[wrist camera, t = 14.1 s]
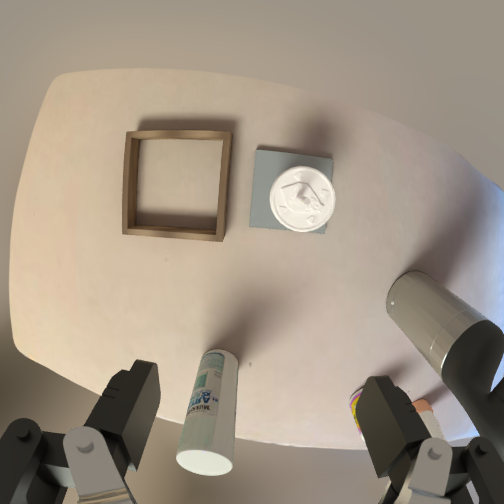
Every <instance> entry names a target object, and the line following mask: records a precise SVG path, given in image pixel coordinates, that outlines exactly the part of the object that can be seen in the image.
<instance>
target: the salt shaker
mask: <svg viewBox="0 0 504 504" xmlns="http://www.w3.org/2000/svg"><path fill="white" fill-rule="evenodd" d="M412 405H414V407H415V408H416V412H418V413H419V415H420V417H421V419H422V420H423V422H424V424H425V426H426V427H427V429H428V431H429V432H430V434H431V436H432V438H433V437H436V438H441V439H443V440H445V441H446V439H445V437H444V435H443V434H442V431H441V428H440V425H439V422H438V420H437V419H436V417H435V416H434V414H433V410H432V408H431V407H430V405H429V403H428V402H427V401H426V400H425V399H421V400H417V401H415V402H413V403H412ZM446 442H447V441H446ZM447 443H448V442H447ZM451 447H452V446H451Z"/></svg>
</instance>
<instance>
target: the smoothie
mask: <svg viewBox="0 0 504 504" xmlns="http://www.w3.org/2000/svg"><path fill="white" fill-rule="evenodd" d="M270 205H271V210H272V211H273V213H274V215H275V217H276V218H277V219H278V221H279V222H280V223H281V224H283V225H284V226H285V227H287V228H289V229H291V230H294V231H298V232H308V231H312V230H315V229H317V228H319V227H321V226H322V225H324V224H325V223H326V222H327V221H328V219H329V218H330V217H331V215H332V213H333V210H334V207H335V191H334V188H333V186H332V184H331V182H330V180H329V179H328V178H327V177H326V176H325V175H324V174H323V173H322V172H320V171H319V170H317V169H314V168H311V167H306V166H297V167H292V168H290V169H288V170H286V171H284V172H283V173H282V174H280V175H279V176H278V177H277V179H276V180H275V182H274V183H273V185H272V188H271V191H270Z"/></svg>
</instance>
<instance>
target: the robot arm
mask: <svg viewBox="0 0 504 504" xmlns="http://www.w3.org/2000/svg"><path fill="white" fill-rule="evenodd" d="M386 304H387V311H388V314H389V316H390V317H391V318H392V319H393V320H394V322H395V323H396V324H397V325H398V326H399V327H400V329H401V330H402V331H403V332H404V334H405V335H406V336H407V337H408V338H409V339H410V341H411V342H412V343H413V344H414V345H415V347H416V348H417V349H418V350H419V352H420V353H421V354H422V355H423V356H424V358H425V359H426V360H427V361H428V363H429V364H430V365H431V366H432V368H433V369H434V370H435V371H436V373H437V374H438V375H439V376H440V378H441V379H442V380H443V382H444V383H445V384H446V385H447V387H448V388H449V389H450V390H451V392H452V393H453V394H454V395H455V397H456V398H457V399H458V401H459V402H460V404H461V405H462V406H463V408H464V409H465V411H466V412H467V414H468V416H469V417H470V419H471V420H472V422H473V424H474V426H475V427H476V429H477V431H478V433H479V434H480V436H481V437H475V438H473V439H472V440H471V441H470V443H469V444H468V445H467V446H465V447H451V446H450V445H449V444H448V443H447V442H446V441H445V440H443V439H441V438H436V437H433V438H432V436H431V434H430V432H429V431H428V429H427V427H426V426H425V424H424V422H423V420H422V419H421V417H420V415H419V413H418V412H416V408H415V407H414V405H412V402H411V400H410V398H409V397H408V395H407V394H406V393H405V392H404V391H403V390H402V389H400V388H399V387H398V386H397V387H395V386H394V384H393V382H392V381H391V379H390V377H389V376H387V375H385V376H372V377H369V378H368V379H367V381H366V383H365V386H364V388H363V390H362V392H361V395H360V397H359V399H358V401H357V404H356V408H355V414H356V418H357V421H358V424H359V426H360V429H361V432H362V434H363V437H364V440H365V443H366V445H367V448H368V451H369V454H370V456H371V459H372V462H373V465H374V468H375V471H376V474H377V476H378V478H382V477H386V476H389V477H390V481H389V482H388V484H387V486H386V488H385V490H384V492H383V494H382V497H381V499H380V501H379V503H378V504H474V503H473V501H472V499H471V496H470V494H469V492H468V489H467V487H466V484H467V483H469V482H470V481H472V483H473V485H474V487H475V489H476V492H477V494H478V496H479V504H504V377H503V379H502V380H501V381H500V382H499V383H498V384H497V386H496V387H495V388H494V389H493V391H491V392H490V390H491V386H492V382H493V379H494V376H495V374H496V371H497V369H498V367H499V364H500V362H501V359H502V357H503V354H504V334H503V332H502V330H501V329H500V328H499V327H498V326H496V325H495V324H494V323H493V322H491V321H490V320H489V319H487V318H486V317H485V316H483V315H482V314H481V313H479V312H478V311H477V310H475V309H474V308H473V307H471V306H470V305H469V304H467V303H466V302H464V301H463V300H462V299H460V298H459V297H458V296H456V295H455V294H453V293H452V292H451V291H449V290H448V289H446V288H445V287H443V286H442V285H441V284H439V283H438V282H436V281H435V280H433V279H432V278H430V277H429V276H427V275H426V274H425V273H423V272H420V271H412V272H409V273H406V274H404V275H403V276H401V277H400V278H399V279H398V280H397V281H396V282H395V283H394V285H393V286H392V288H391V289H390V291H389V294H388V297H387V302H386ZM160 397H161V392H160V384H159V375H158V367H157V364H156V363H154V362H148V361H143V360H138V359H137V360H136V361H135V362H134V364H133V366H132V367H131V369H130V371H127V370H123V369H122V370H121V371H119V372H118V373H117V374H115V375H114V376H112V378H111V380H110V381H109V383H108V385H107V388H105V390H104V391H103V393H102V396H101V397H100V398H99V400H98V402H97V403H96V405H95V407H94V409H93V410H92V412H91V414H90V416H89V417H88V419H87V421H86V423H85V424H84V425H83V426H82V427H76V428H73V429H71V430H70V431H69V432H67V434H60V433H52V432H45V431H41V429H40V427H39V426H38V424H37V423H36V422H34V421H33V420H31V419H27V418H21V419H17V420H15V421H13V422H12V423H11V424H10V425H9V426H8V428H7V429H6V431H5V433H4V434H3V436H2V437H1V439H0V504H62V503H63V500H64V497H65V494H66V492H67V489H68V487H72V488H76V490H77V493H78V496H79V501H78V502H77V503H78V504H137V502H136V500H135V498H134V497H133V495H132V493H131V491H130V489H129V487H128V485H127V483H126V481H125V479H124V477H125V474H126V471H127V469H129V470H132V471H136V472H137V469H138V466H139V463H140V460H141V457H142V454H143V451H144V448H145V445H146V442H147V439H148V436H149V433H150V430H151V427H152V424H153V422H154V419H155V416H156V413H157V410H158V407H159V404H160Z"/></svg>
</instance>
